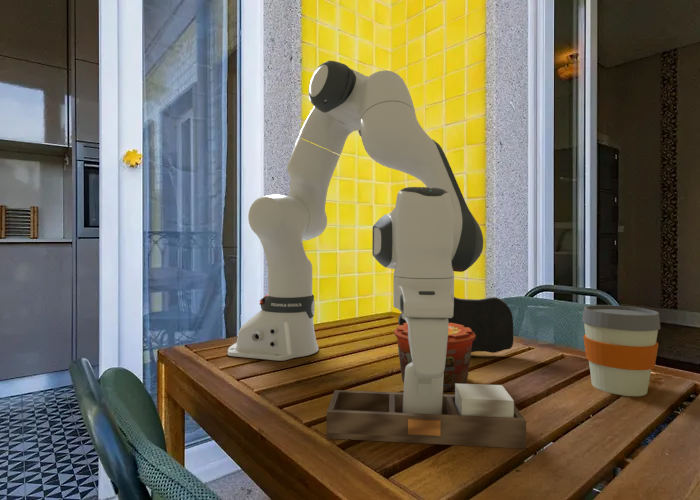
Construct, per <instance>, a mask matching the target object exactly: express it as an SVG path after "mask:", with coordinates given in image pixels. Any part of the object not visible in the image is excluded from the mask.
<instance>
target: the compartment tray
mask: <svg viewBox="0 0 700 500" xmlns="http://www.w3.org/2000/svg"><path fill="white" fill-rule="evenodd" d="M403 394H404V392H393V391H392V392H391V391H373V390H372V391H370V390H367V391H366V390H365V391H364V390H345V389H343V390H341V389H340V390H339V389H335V390H334V392H333V393H332V396H331V399H330V401H329V405H328V407H327V409H326V439H331V440H332V439H333V440H348V439H351V440H353V441H372V442H389V443H393V442H394V443H410V444H411V443H412V444H426V445H427V444H429V445H431V444H432V445H449V446H465V447H467V446H470V447H485V448H486V447H488V448H510V449H523V448H526V449H527V419H525V417H524V415H523V414H522V413H521V412H520V410H519V409H518V408H517V406H516V405H515V401H514V399H513V397H512V396H511V395H510V393H508V391H507V389H506V388H505V387H504V386H503V385H502V384H481V383H480V384H479V383H477V384H476V383H467V384H457V383H455V391H454V394H449V393H448V394H447V393H446V394H443V397H442V415H441V414H419V413H403ZM351 440H350V441H351Z"/></svg>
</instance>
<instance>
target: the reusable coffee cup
mask: <svg viewBox="0 0 700 500" xmlns="http://www.w3.org/2000/svg"><path fill="white" fill-rule="evenodd" d="M581 321H582V323H583V326H584V332H585V333H584V335H583V343H584V352H585V357H586V360H588V365H589V371H590V373H589V374H590V380H591V386H593V387H594V388H595V389H597V390H600V391H602V392H604V393H608V394H611V395H612V394H614V395H616V396H617V395H619V396H623V397H624V396H625V397H642V396H645V395H647V394H648V390H649V384H650V378H651V372H652V370H653V369H654V368H655V367H656V361H657V357H658V356H657V355H658V349H659V346H660V345H659V343H658V341H657V340H658V339H657V338H658V333H659V330H661V322H660V321H661V319H660V313H659V311H656V310H652V309H649V308H648V309H647V308H644V307H636V306H626V305H625V306H624V305H614V304H613V305H611V304H593V305H590V304H589V305H584V307H583V311H582V318H581Z"/></svg>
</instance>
